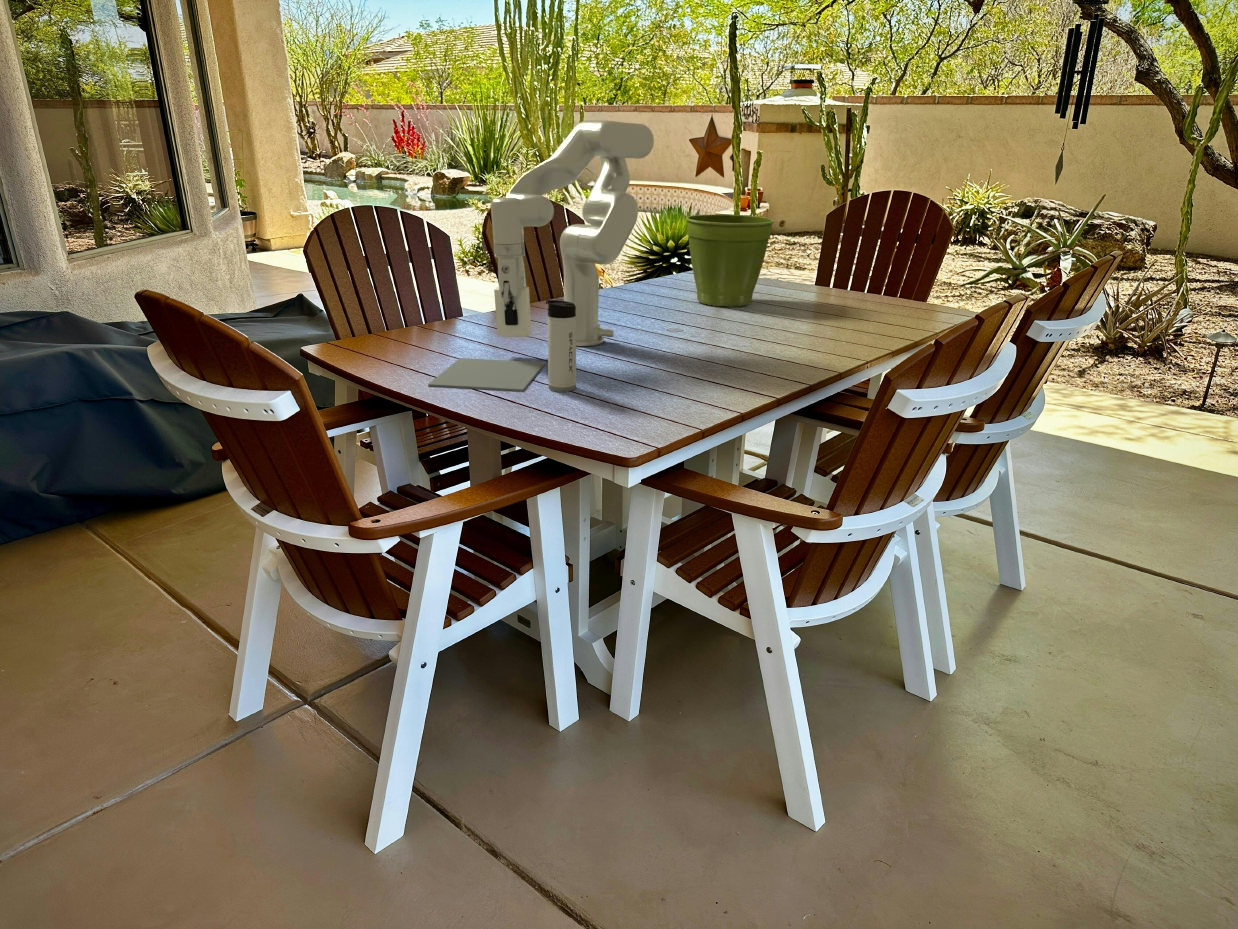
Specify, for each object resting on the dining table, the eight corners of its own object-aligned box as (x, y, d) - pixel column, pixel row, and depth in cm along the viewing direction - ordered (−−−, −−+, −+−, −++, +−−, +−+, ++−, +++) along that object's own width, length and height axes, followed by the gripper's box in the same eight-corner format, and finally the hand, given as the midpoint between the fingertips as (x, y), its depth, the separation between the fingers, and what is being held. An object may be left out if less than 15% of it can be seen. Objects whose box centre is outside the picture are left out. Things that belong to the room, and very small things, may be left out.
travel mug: (547, 384, 187) (545, 297, 180) (575, 384, 188) (575, 297, 180) (547, 392, 181) (545, 303, 174) (576, 392, 182) (576, 303, 175)
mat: (544, 364, 204) (544, 362, 204) (523, 391, 182) (523, 389, 182) (459, 359, 206) (459, 357, 206) (428, 386, 184) (428, 384, 184)
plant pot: (684, 293, 301) (688, 213, 291) (765, 297, 298) (772, 216, 287) (679, 308, 274) (683, 220, 263) (768, 313, 270) (775, 223, 260)
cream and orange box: (531, 333, 211) (529, 286, 206) (528, 337, 207) (525, 290, 202) (501, 332, 212) (498, 286, 207) (497, 336, 208) (494, 289, 203)
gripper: (516, 255, 192) (520, 331, 200) (531, 244, 208) (535, 315, 215) (485, 255, 193) (491, 330, 201) (502, 244, 209) (507, 314, 216)
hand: (514, 321), depth 208 cm, fingers closed on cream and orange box, 4 cm apart
